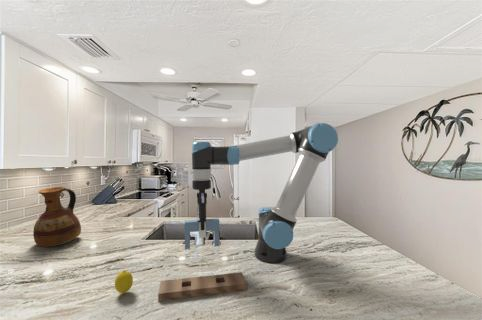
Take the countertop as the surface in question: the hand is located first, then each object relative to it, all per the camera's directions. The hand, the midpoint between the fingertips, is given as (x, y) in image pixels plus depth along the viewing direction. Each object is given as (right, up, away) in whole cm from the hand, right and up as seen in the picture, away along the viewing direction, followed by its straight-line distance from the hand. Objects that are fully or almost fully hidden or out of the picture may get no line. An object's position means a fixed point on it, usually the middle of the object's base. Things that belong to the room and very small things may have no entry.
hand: (202, 235), depth 98 cm
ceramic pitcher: (-82, -13, +29) cm, 88 cm away
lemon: (-24, -15, -16) cm, 33 cm away
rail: (+3, -15, -13) cm, 20 cm away
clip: (0, -5, 0) cm, 5 cm away
